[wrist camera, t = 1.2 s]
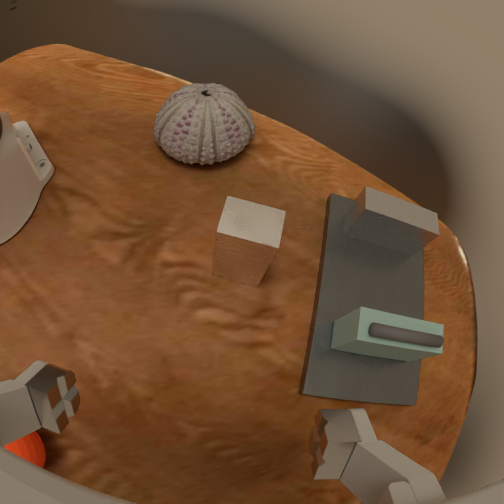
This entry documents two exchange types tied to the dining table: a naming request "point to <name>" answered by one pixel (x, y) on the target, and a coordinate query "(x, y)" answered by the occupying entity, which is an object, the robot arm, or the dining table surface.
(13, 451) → the clementine
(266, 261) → the block
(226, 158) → the sea urchin shell
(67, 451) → the dining table surface
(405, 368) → the vise
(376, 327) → the sliding jaw
